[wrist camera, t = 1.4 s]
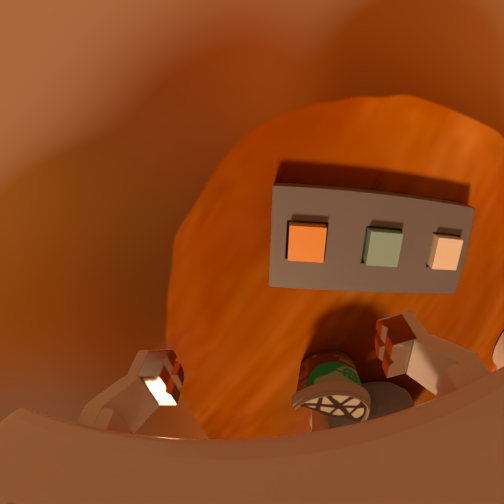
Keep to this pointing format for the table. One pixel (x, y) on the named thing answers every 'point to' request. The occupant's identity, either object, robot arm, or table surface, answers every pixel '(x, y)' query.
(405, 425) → the robot arm
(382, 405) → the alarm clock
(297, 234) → the orange button
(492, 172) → the table surface
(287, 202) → the button board
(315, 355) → the food container
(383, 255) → the olive green button
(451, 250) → the cream button
